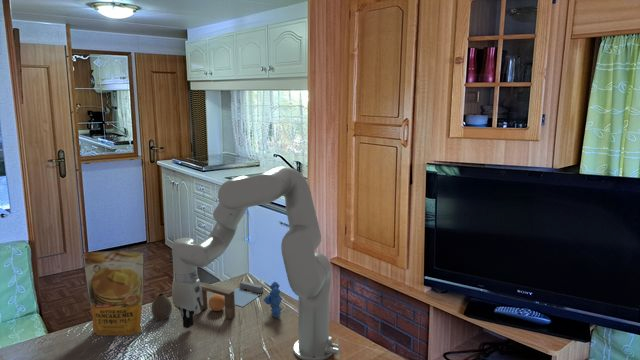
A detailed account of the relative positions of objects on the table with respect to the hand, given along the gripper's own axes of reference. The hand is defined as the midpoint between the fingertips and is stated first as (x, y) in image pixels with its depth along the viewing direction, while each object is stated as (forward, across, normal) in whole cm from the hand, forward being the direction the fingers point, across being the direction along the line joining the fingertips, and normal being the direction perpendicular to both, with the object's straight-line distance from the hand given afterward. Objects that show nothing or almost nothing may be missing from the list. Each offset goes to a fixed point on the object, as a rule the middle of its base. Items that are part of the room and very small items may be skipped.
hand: (188, 326), depth 154 cm
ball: (-2, +1, -16) cm, 16 cm away
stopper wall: (+2, 0, -36) cm, 36 cm away
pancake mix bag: (+2, +20, +12) cm, 23 cm away
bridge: (+2, 0, -14) cm, 14 cm away
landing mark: (+2, 0, -28) cm, 28 cm away
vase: (+2, +14, -2) cm, 15 cm away
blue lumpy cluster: (+2, -19, -23) cm, 30 cm away
